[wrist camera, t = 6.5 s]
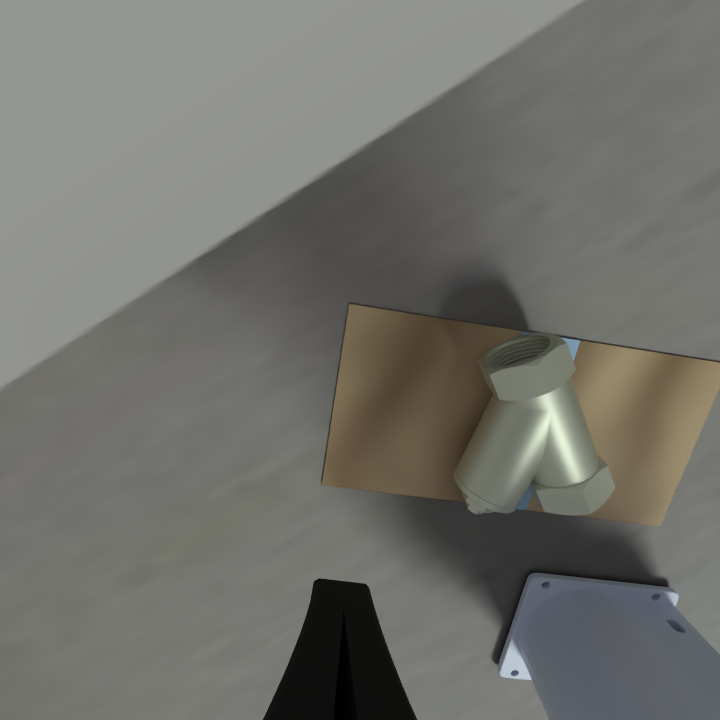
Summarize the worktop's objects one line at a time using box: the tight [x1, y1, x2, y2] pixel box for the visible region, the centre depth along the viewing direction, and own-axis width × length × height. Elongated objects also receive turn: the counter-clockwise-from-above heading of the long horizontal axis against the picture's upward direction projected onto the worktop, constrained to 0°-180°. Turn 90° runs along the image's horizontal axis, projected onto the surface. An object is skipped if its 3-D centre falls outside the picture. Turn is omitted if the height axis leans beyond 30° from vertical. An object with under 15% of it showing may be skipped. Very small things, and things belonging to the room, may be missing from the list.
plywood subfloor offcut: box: [322, 304, 720, 526], centre depth 20 cm, size 20×10×1 cm, turn 81°
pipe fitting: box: [454, 332, 615, 515], centre depth 18 cm, size 8×4×7 cm
